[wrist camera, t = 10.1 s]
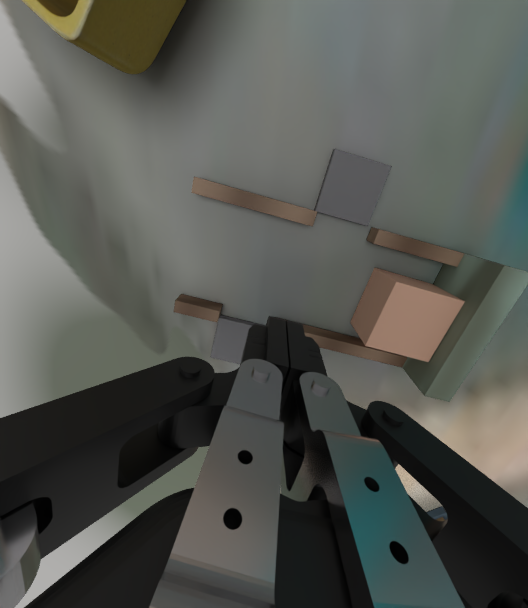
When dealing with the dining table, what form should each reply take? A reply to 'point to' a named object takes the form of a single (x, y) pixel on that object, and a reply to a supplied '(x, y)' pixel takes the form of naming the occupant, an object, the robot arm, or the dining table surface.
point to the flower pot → (112, 27)
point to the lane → (452, 278)
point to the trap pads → (332, 201)
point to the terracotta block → (404, 315)
